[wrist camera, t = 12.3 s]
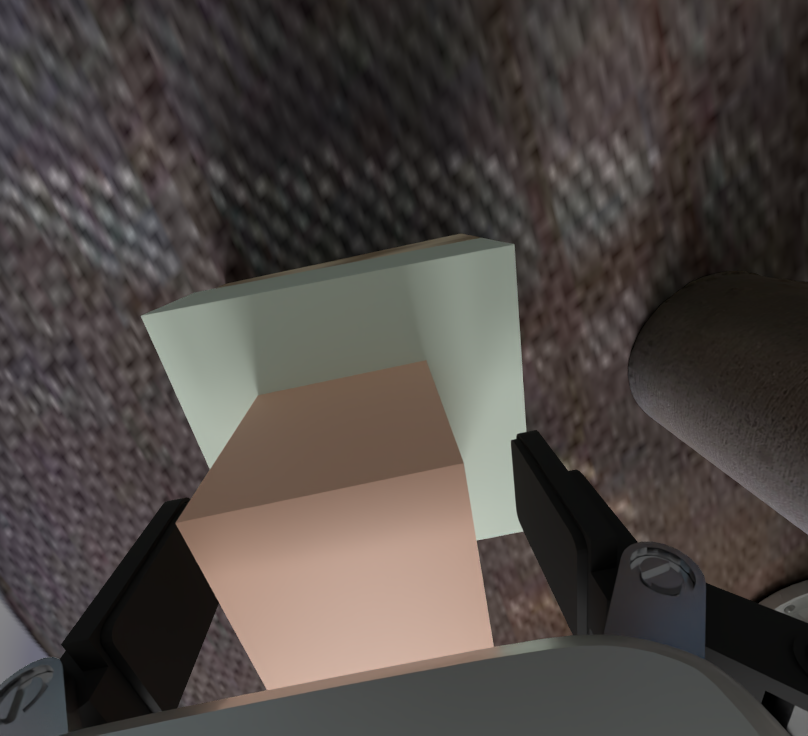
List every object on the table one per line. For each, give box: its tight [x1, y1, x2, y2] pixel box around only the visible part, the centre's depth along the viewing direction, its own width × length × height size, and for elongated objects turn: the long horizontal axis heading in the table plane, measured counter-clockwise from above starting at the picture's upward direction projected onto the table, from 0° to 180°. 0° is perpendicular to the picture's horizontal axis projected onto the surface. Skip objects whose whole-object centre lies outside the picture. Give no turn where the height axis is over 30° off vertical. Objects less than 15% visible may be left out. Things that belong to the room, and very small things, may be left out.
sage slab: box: [141, 238, 526, 540], centre depth 16 cm, size 12×12×4 cm
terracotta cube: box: [176, 360, 494, 690], centre depth 12 cm, size 6×6×6 cm
